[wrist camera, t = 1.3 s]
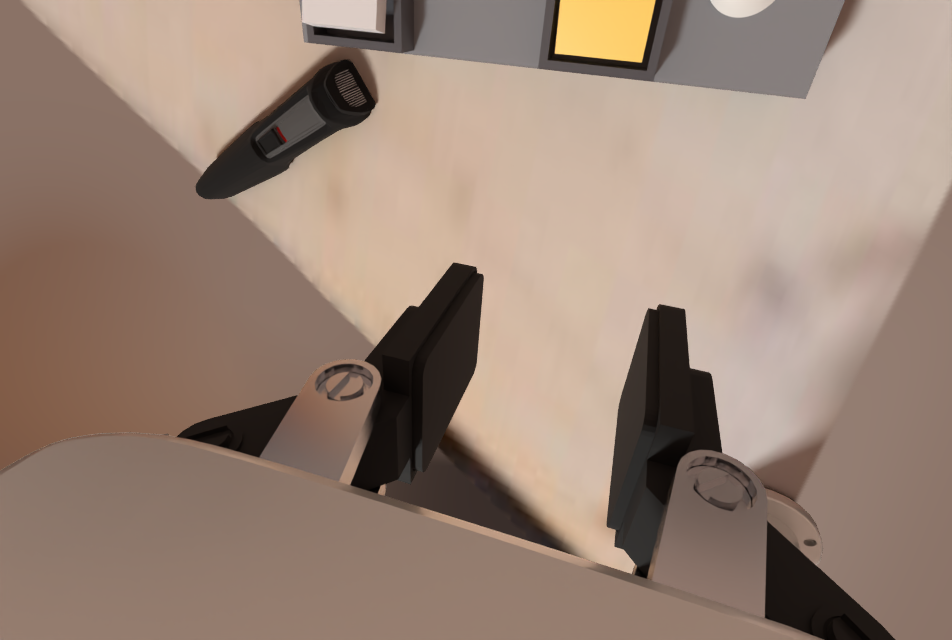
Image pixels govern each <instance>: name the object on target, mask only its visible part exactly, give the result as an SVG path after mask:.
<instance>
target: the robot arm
mask: <svg viewBox="0 0 952 640" xmlns="http://www.w3.org/2000/svg"><path fill="white" fill-rule="evenodd" d="M483 281H484V277H483V274H479V273H477V268H476V267H473V266H469V265H464V264H459V263H453V264H452V265H451V266H450V268H449V269H448V270H447V271H446V273H445V274H444V275H443V277H442V278H441V279H440V280H439V282H438V283H437V284H436V286H435V287H434V288H433V289H432V291H431V292H430V293H429V295H428V296H427V297H426V298H425V300H424V301H423V302H422V304H421V305H420V306H419V307H416V306H409V307H408V308H407V309H406V310H405V311H404V313H403V314H402V315H401V316H400V318H399V319H398V320H397V321H396V323H395V324H394V325H393V326H392V327H391V329H390V330H389V331H388V332H387V334H386V335H385V336H384V337H383V339H382V340H381V341H380V342H379V343H378V345H377V346H376V347H375V348H374V350H373V351H372V352H371V353H370V355H369V356H368V357H367V358H366V359H365V361H360V360H357V359H342V360H336V361H332V362H330V363H327V364H324V365H323V366H321V367H319V368H318V369H316V370H315V371H314V372H313V373H312V375H311V376H310V377H309V378H308V380H307V381H306V383H305V385H304V386H303V388H302V389H301V391H300V393H299V394H298V395H297V396H293V397H289V398H286V399H282V400H278V401H274V402H270V403H267V404H263V405H259V406H256V407H252V408H248V409H245V410H241V411H237V412H233V413H229V414H226V415H222V416H218V417H214V418H211V419H207V420H205V421H202V422H199V423H196V424H194V425H192V426H191V427H189V428H187V429H186V430H184V431H183V432H181V433H180V434H179V435H178V436H177V437H173V436H169V434H163V435H159V434H144V433H130V432H129V433H102V434H93V435H85V436H79V437H74V438H69V439H65V440H62V441H59V442H55V443H52V444H49V445H47V446H45V447H43V448H41V449H38V450H36V451H34V452H32V453H30V454H28V455H26V456H25V457H23V458H21V459H19V460H17V461H16V462H14V463H12V464H10V465H9V466H7V467H5V468H4V469H2V470H0V640H895V639H894V638H893V637H892V636H891V635H890V634H889V633H888V631H887V630H886V629H885V628H884V627H883V626H882V625H881V624H880V623H879V622H878V621H877V620H875V619H874V618H873V617H872V616H871V615H870V614H869V613H868V612H867V611H866V610H864V609H863V608H862V607H861V606H860V605H859V604H858V603H857V602H856V601H855V600H854V599H852V598H851V597H850V596H849V595H848V594H847V593H846V592H845V591H844V590H842V589H841V588H840V587H839V586H838V585H837V584H836V583H835V582H834V581H833V580H831V579H830V578H829V577H828V576H827V575H826V574H825V573H824V572H823V571H822V570H821V569H820V568H818V567H817V565H818V563H819V561H820V560H821V556H822V551H823V547H822V541H821V537H820V534H819V531H818V528H817V525H816V523H815V522H814V520H813V519H812V517H811V516H810V515H809V514H808V513H807V512H806V511H805V510H804V509H803V508H802V507H801V506H800V505H798V504H797V503H795V502H794V501H792V500H791V499H789V498H788V497H786V496H784V495H781V494H779V493H777V492H775V491H772V490H769V489H766V488H764V486H763V484H762V483H761V481H760V479H759V478H758V477H757V476H756V475H755V474H754V473H753V472H752V471H751V469H749V468H748V467H747V466H745V465H744V464H743V463H741V462H740V461H738V460H737V459H734V458H732V457H730V456H728V455H726V454H723V453H722V447H721V440H720V432H719V425H718V418H717V410H716V403H715V395H714V388H713V381H712V376H711V374H710V373H709V372H704V371H700V370H695V369H691V368H690V366H689V353H688V341H687V328H686V315H685V309H681V308H676V307H671V306H666V305H661V304H659V305H658V307H657V310H654V309H649V308H648V310H647V312H646V316H645V319H644V322H643V325H642V329H641V332H640V335H639V339H638V342H637V345H636V349H635V352H634V355H633V359H632V362H631V365H630V369H629V372H628V375H627V379H626V382H625V385H624V389H623V392H622V395H621V399H620V403H619V409H618V417H617V427H616V437H615V446H614V456H613V466H612V476H611V486H610V495H609V505H608V515H607V527H609V528H612V529H615V530H616V534H615V546H614V547H617V548H621V549H624V550H625V552H626V553H627V554H628V555H629V557H630V558H631V559H632V560H633V562H634V563H635V566H634V568H633V572H632V574H629V573H626V572H623V571H620V570H617V569H614V568H611V567H608V566H605V565H601V564H598V563H595V562H592V561H589V560H586V559H583V558H580V557H576V556H573V555H570V554H567V553H564V552H561V551H558V550H555V549H552V548H548V547H545V546H542V545H539V544H536V543H533V542H529V541H526V540H523V539H520V538H517V537H514V536H510V535H507V534H504V533H501V532H498V531H494V530H491V529H488V528H485V527H482V526H478V525H476V524H472V523H469V522H466V521H463V520H460V519H457V518H453V517H450V516H447V515H444V514H441V513H437V512H434V511H431V510H428V509H425V508H422V507H418V506H415V505H412V504H408V503H406V502H402V501H399V500H396V499H393V498H389V497H386V496H384V494H385V491H386V484H387V483H389V482H392V481H395V480H399V481H402V482H405V483H408V484H411V482H412V480H413V478H414V476H415V474H416V472H417V471H421V472H424V471H425V470H426V469H427V467H428V465H429V463H430V461H431V459H432V457H433V455H434V453H435V451H436V449H437V447H438V445H439V443H440V441H441V439H442V437H443V435H444V433H445V431H446V429H447V427H448V425H449V423H450V421H451V419H452V417H453V415H454V413H455V411H456V409H457V407H458V404H459V402H460V400H461V398H462V396H463V394H464V392H465V390H466V388H467V386H468V384H469V382H470V380H471V378H472V376H473V374H474V371H475V368H476V363H477V353H478V341H479V329H480V317H481V305H482V293H483Z"/></svg>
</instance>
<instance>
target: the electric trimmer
mask: <svg viewBox="0 0 952 640" xmlns="http://www.w3.org/2000/svg"><path fill="white" fill-rule="evenodd" d="M374 107H375V101H374V99H373V98H372V96H371V94H370V92H369V91H368V89H367V87H366V85H365V84H364V82H363V80H362V78H361V76H360V75H359V73H358V71H357V69H356V68H355V66H354V64H353V63H352V62H351V61H349V60H342V61H340V62H335V63H332V64H330V65H327V66H325V67H323V68H322V69H320V70H319V71H318V72H317V73H316V74H315V76H314V77H313V78H312V79H311V80H310V81H308V82H307V83H306V84H305V85H304V86H303V87H301V88H300V89H299V90H298V91H297V92H296V93H294V94H293V95H292V96H291V97H290V98H289V99H287V100H286V101H285V102H284V103H283V104H282V105H280V106H279V107H278V108H277V109H276V110H275V111H273V112H272V113H271V114H270V115H269V116H268V117H266V118H265V119H263V120H262V121H260V122H256V123H254V124H253V125H252V126H251V127H250V128H249V129H248V130H246V131H245V132H244V133H243V134H242V135H241V136H240V137H239V138H238V139H237V140H236V141H235V142H234V143H233V144H231V145H230V146H229V147H228V148H227V149H226V150H225V151H224V152H223V153H222V154H221V155H220V156H219V157H218V158H217V159H216V160H215V161H214V162H213V163H212V164H211V165H210V166H209V167H208V168H207V170H206V171H205V172H204V174H203V175H202V176H201V178H200V179H199V181H198V182H197V184H196V192H197V193H198V195H199V196H201V197H203V198H205V199H225V198H228V197H232V196H234V195H236V194H238V193H240V192H242V191H245V190H247V189H249V188H251V187H253V186H255V185H257V184H259V183H262V182H264V181H266V180H268V179H270V178H272V177H274V176H276V175H278V174H280V173H282V172H284V171H286V170H287V169H288V168H289V165H290V162H291V161H292V160H293V159H294V158H295V157H297V156H299V155H300V154H302V153H303V152H305V151H306V150H308V149H309V148H311V147H312V146H314V145H315V144H317V143H319V142H320V141H322V140H323V139H325V138H327V137H329V136H330V135H332V134H334V133H335V132H337V131H339V130H341V129H344V128H348V127H351V126H355V125H357V124H359V123H361V122H362V121H363V120H365V119H366V118H367V117H368V116H369V115H370V111H371V110H372V109H374Z"/></svg>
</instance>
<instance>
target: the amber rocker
mask: <svg viewBox="0 0 952 640" xmlns="http://www.w3.org/2000/svg"><path fill="white" fill-rule="evenodd" d="M655 1H656V0H560V9H559V18H558V28H557V37H556V47H555V53H556V54H565V55H574V56H584V57H593V58H603V59H612V60H622V61H631V62H641V63H642V60H643V55H644V51H645V46H646V42H647V37H648V33H649V28H650V24H651V19H652V15H653V10H654V6H655Z"/></svg>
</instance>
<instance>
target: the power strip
mask: <svg viewBox="0 0 952 640" xmlns="http://www.w3.org/2000/svg"><path fill="white" fill-rule="evenodd" d="M844 1H845V0H656V1H655V6H654V10H653V15H652V19H651V24H650V28H649V33H648V37H647V42H646V46H645V51H644V55H643V60H642V63H641V62H631V61H622V60H612V59H603V58H593V57H584V56H574V55H565V54H556V53H555V47H556V37H557V28H558V18H559V9H560V0H386V20H385V34H384V33H374V32H365V31H355V30H345V29H336V28H326V27H317V26H312V25H309V24H306V23H303V22H302V27H303V36H304V42H307V43H316V44H325V45H333V46H342V47H351V48H360V49H369V50H378V51H386V52H395V53H404V54H413V55H422V56H431V57H440V58H448V59H457V60H466V61H475V62H484V63H493V64H501V65H510V66H519V67H528V68H537V69H546V70H554V71H563V72H572V73H581V74H590V75H599V76H608V77H616V78H625V79H634V80H643V81H652V82H661V83H669V84H678V85H687V86H696V87H705V88H714V89H723V90H731V91H740V92H749V93H758V94H767V95H776V96H784V97H793V98H802V99H806V96H807V94H808V91H809V89H810V86H811V84H812V81H813V79H814V76H815V74H816V71H817V69H818V66H819V64H820V61H821V59H822V56H823V54H824V51H825V49H826V46H827V44H828V41H829V39H830V36H831V34H832V31H833V29H834V26H835V24H836V21H837V19H838V16H839V14H840V11H841V9H842V6H843V4H844ZM300 9H301V18H302V0H300Z"/></svg>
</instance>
